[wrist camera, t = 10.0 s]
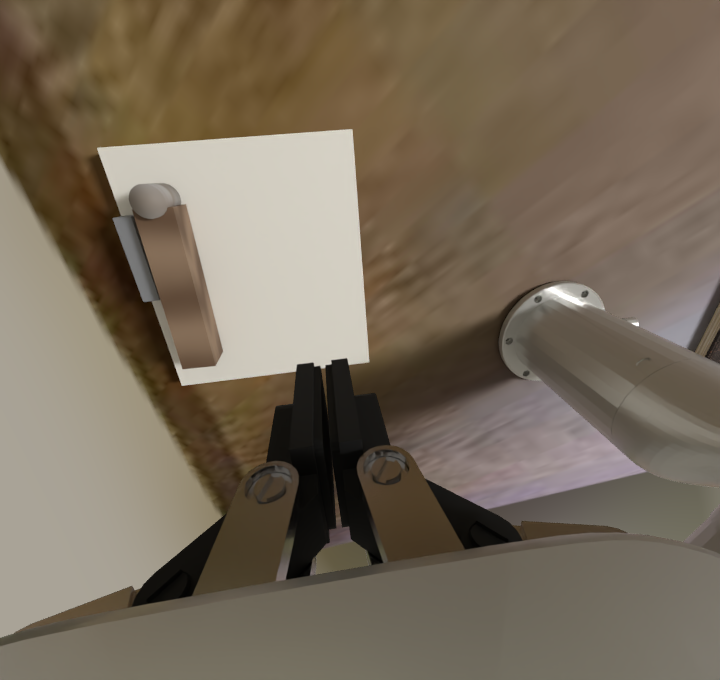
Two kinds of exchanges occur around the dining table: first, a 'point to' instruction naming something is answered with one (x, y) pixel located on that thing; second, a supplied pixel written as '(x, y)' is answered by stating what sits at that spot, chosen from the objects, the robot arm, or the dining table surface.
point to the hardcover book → (711, 339)
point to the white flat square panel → (259, 245)
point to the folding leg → (177, 272)
